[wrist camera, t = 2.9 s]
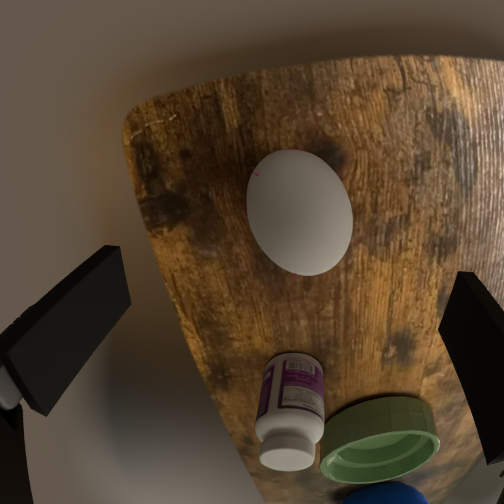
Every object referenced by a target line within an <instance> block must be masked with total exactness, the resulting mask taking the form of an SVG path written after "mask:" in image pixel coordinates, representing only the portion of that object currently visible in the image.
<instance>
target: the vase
mask: <svg viewBox="0 0 504 504" xmlns="http://www.w3.org/2000/svg"><path fill="white" fill-rule="evenodd" d="M341 504H429V503H428V501H427V500H426V498H425V497H424V495H423V494H422V493H421V492H419V491H418V490H416V489H415V488H413V487H411V486H409V485H406V484H403V483H383V484H377V485H373V486H368V487H365V488H362V489H360V490H357V491H355V492H354V493H352V494H351V495H350V496H348V497H347V498H346V499H344V500H343V502H342V503H341Z"/></svg>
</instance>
